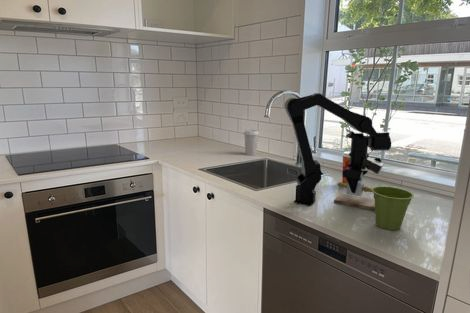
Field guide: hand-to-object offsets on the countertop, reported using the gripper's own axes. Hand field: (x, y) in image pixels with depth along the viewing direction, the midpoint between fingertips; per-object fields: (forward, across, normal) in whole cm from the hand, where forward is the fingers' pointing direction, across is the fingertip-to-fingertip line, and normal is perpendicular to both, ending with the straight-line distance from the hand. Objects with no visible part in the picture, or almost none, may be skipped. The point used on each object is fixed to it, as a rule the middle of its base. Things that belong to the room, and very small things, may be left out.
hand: (355, 191), depth 124 cm
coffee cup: (+5, +53, +74) cm, 92 cm away
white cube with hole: (+1, 0, 0) cm, 1 cm away
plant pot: (+5, -16, -14) cm, 22 cm away
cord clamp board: (+4, 0, -2) cm, 5 cm away
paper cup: (+5, +24, +8) cm, 26 cm away
